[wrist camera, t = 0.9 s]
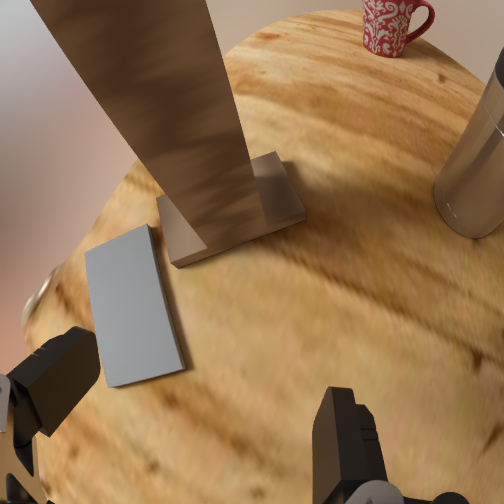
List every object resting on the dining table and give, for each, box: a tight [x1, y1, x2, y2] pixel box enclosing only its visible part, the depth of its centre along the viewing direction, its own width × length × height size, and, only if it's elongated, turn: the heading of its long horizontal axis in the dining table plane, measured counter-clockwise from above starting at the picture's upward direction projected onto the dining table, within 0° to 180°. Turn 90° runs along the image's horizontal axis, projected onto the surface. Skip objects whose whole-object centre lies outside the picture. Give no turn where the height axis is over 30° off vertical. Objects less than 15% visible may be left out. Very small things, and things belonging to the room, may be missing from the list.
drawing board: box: [85, 224, 186, 388], centre depth 29 cm, size 9×16×1 cm, turn 19°
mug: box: [362, 0, 435, 57], centre depth 33 cm, size 13×9×14 cm
